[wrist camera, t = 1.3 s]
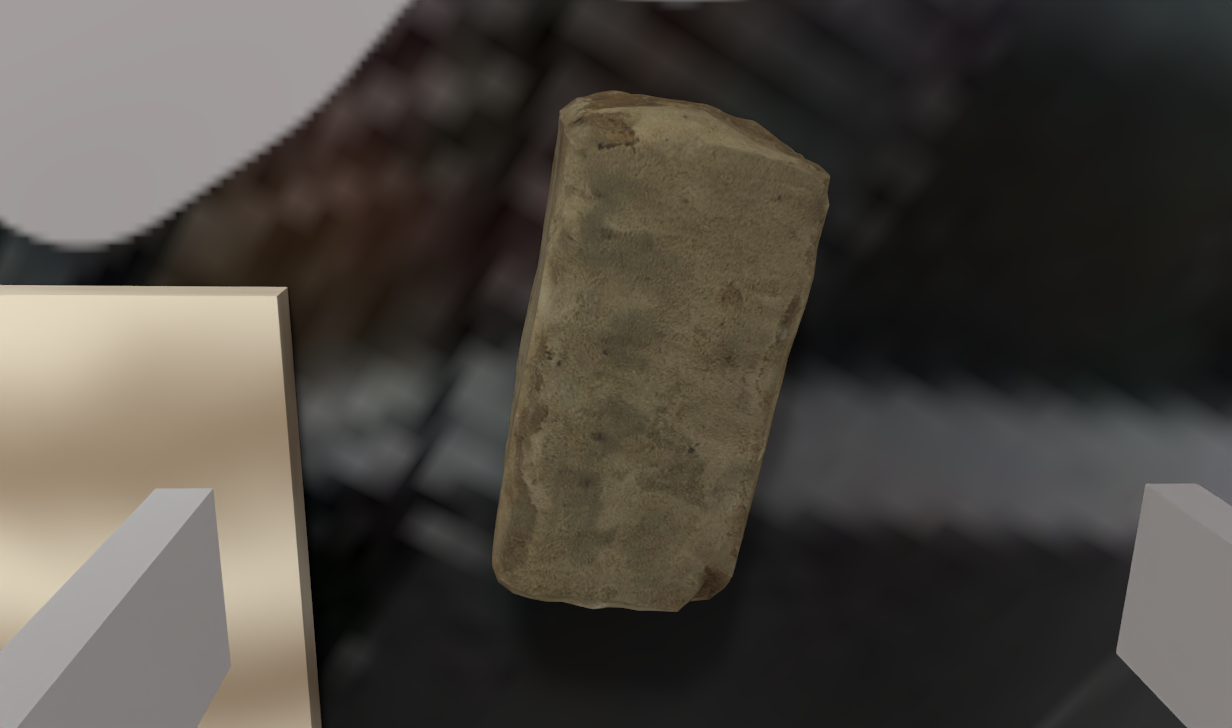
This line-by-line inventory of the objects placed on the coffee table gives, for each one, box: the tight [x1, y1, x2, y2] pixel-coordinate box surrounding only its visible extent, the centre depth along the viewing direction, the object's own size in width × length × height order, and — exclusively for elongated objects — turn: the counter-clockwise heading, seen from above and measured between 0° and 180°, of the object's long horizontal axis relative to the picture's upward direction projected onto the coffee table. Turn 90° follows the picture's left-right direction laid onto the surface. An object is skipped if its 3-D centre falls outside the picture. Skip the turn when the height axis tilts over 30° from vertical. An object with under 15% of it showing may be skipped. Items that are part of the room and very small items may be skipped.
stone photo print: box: [0, 285, 322, 728], centre depth 27 cm, size 20×15×1 cm
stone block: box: [492, 90, 830, 612], centre depth 24 cm, size 6×12×5 cm, turn 170°
